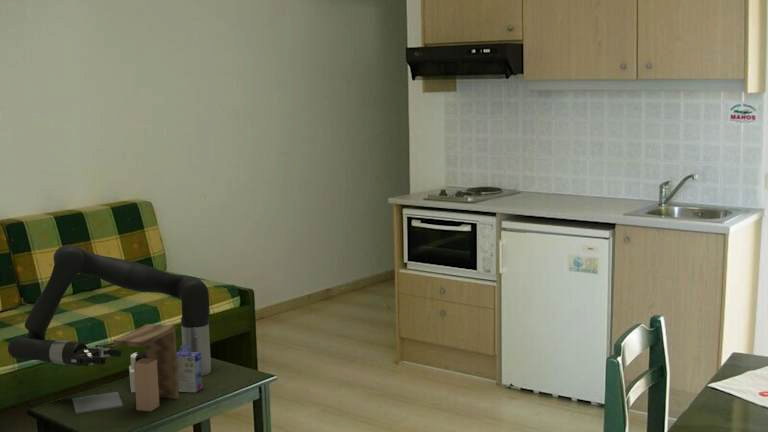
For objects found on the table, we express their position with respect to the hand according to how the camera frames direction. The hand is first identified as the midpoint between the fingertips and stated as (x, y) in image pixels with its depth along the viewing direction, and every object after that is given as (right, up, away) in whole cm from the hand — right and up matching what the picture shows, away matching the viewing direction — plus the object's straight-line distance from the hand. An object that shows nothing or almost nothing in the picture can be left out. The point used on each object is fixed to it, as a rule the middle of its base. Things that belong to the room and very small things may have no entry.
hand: (112, 357), depth 286 cm
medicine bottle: (+4, -13, +18) cm, 23 cm away
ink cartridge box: (+19, -13, +15) cm, 28 cm away
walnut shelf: (+11, -15, +1) cm, 19 cm away
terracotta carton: (+11, -16, -1) cm, 19 cm away
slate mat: (-6, -15, +4) cm, 17 cm away
